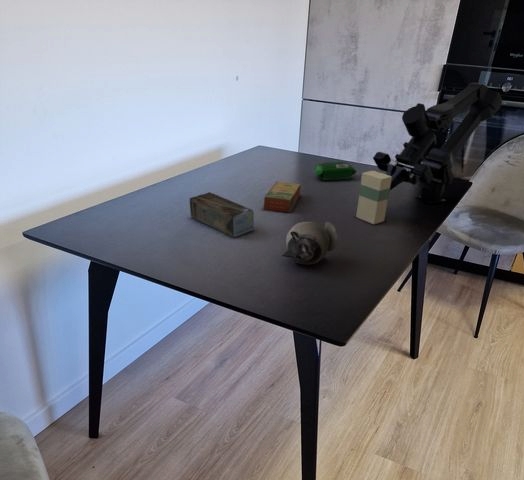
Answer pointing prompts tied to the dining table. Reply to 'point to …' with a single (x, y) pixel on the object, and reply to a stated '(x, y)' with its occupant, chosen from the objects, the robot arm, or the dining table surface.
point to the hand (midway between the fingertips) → (385, 191)
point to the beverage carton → (222, 214)
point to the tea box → (373, 196)
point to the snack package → (334, 171)
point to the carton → (282, 197)
